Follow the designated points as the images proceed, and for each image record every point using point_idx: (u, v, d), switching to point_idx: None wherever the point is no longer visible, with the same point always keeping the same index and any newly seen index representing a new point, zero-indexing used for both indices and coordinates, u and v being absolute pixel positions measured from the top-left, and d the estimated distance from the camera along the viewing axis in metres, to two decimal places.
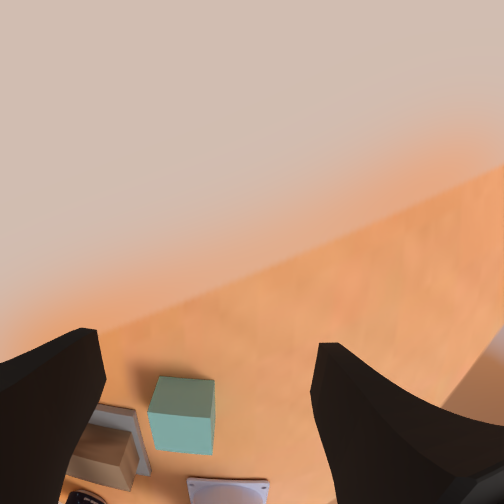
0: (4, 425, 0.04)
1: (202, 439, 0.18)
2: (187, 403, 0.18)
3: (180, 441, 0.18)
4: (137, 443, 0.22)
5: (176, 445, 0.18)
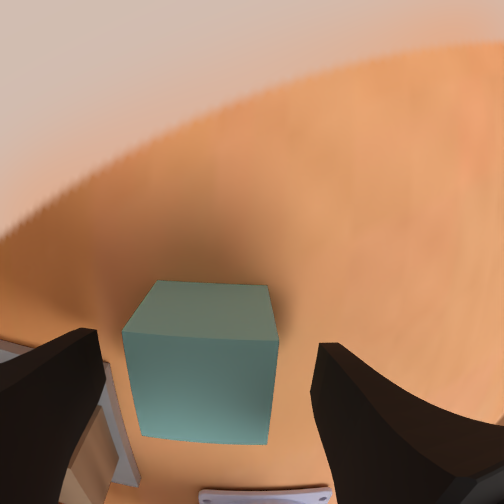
0: (4, 425, 0.04)
1: (250, 406, 0.08)
2: (219, 316, 0.09)
3: (197, 415, 0.08)
4: (113, 429, 0.12)
5: (188, 425, 0.08)
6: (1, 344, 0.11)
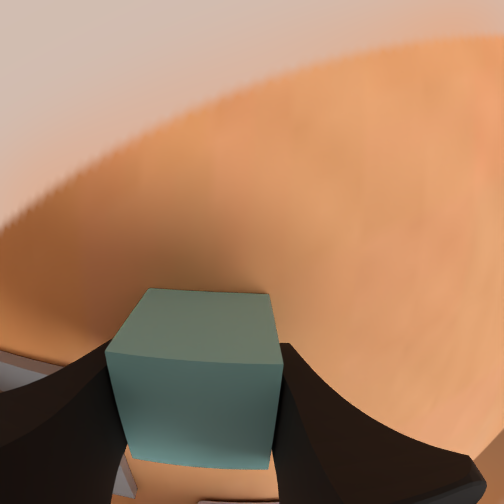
0: (62, 447, 0.04)
1: (250, 432, 0.07)
2: (215, 334, 0.08)
3: (192, 440, 0.07)
4: None
5: (182, 450, 0.07)
6: None
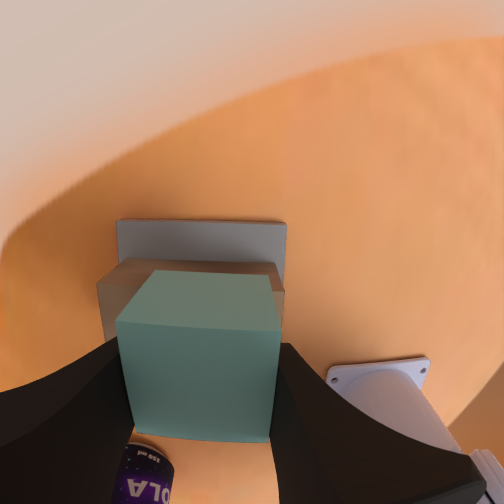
0: (61, 447, 0.04)
1: (251, 401, 0.08)
2: (218, 306, 0.08)
3: (195, 411, 0.08)
4: None
5: (185, 422, 0.08)
6: (164, 220, 0.16)
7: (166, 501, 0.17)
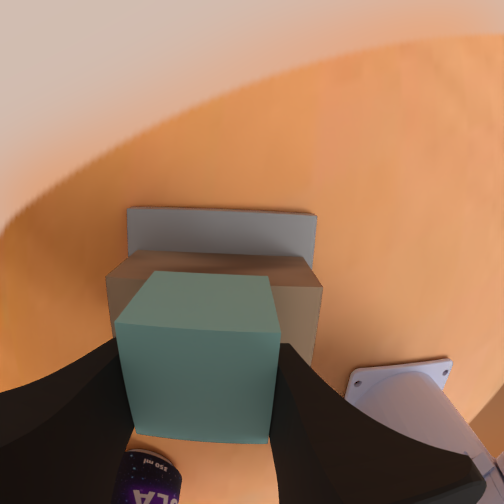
0: (62, 447, 0.04)
1: (250, 402, 0.08)
2: (217, 308, 0.08)
3: (195, 412, 0.08)
4: None
5: (184, 423, 0.08)
6: (181, 208, 0.15)
7: None
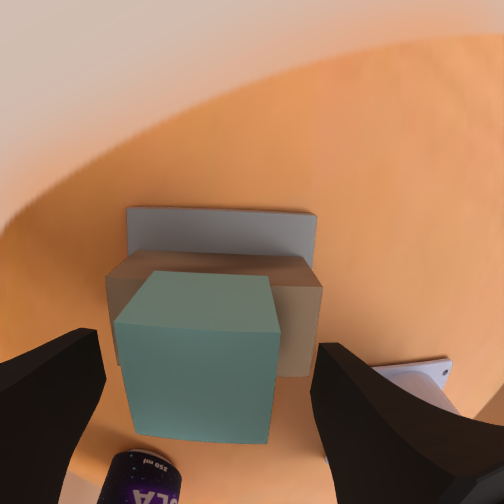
0: (4, 425, 0.04)
1: (250, 402, 0.08)
2: (217, 308, 0.08)
3: (194, 412, 0.08)
4: None
5: (184, 423, 0.08)
6: (180, 208, 0.15)
7: None
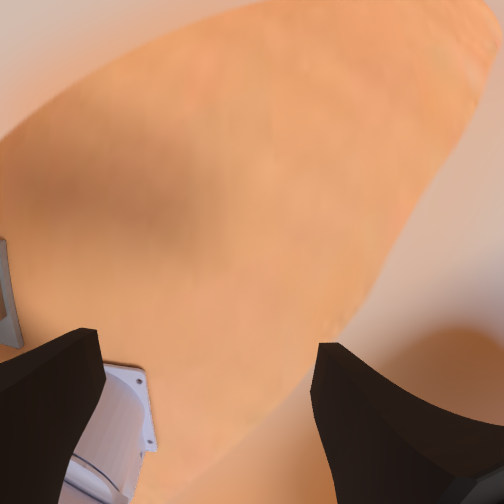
0: (4, 425, 0.04)
1: None
2: None
3: None
4: (3, 287, 0.18)
5: None
6: None
7: None
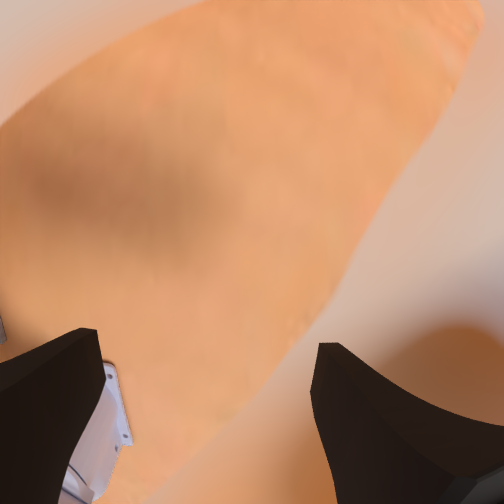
0: (4, 425, 0.04)
1: None
2: None
3: None
4: None
5: None
6: None
7: None
